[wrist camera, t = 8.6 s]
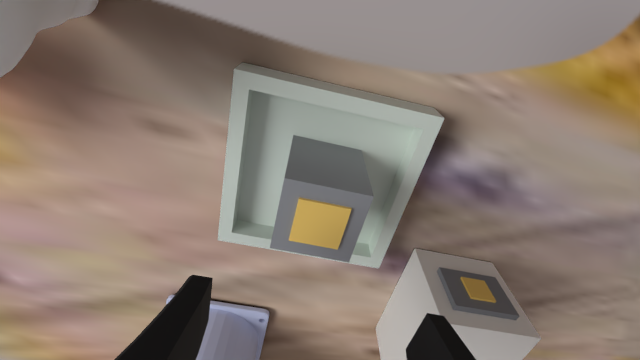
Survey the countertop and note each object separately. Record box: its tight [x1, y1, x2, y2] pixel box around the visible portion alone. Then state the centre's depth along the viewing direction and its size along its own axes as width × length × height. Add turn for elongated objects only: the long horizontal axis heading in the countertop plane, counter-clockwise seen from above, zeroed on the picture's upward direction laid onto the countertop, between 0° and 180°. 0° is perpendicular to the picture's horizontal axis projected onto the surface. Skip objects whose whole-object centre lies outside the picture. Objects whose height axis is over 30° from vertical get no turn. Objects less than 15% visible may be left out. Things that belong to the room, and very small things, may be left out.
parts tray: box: [218, 62, 444, 268], centre depth 19 cm, size 11×11×2 cm
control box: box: [376, 248, 542, 360], centre depth 22 cm, size 10×6×6 cm
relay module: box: [270, 135, 374, 262], centre depth 17 cm, size 4×4×5 cm
